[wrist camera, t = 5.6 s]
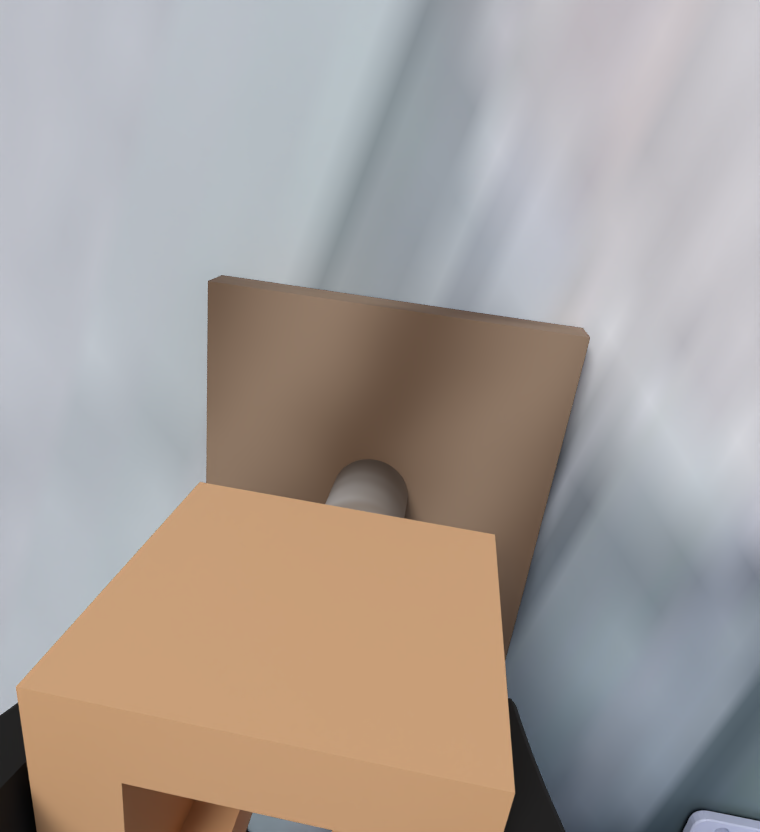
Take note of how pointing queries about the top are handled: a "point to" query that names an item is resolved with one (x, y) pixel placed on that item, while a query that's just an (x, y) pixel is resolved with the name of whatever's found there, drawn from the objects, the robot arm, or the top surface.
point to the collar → (279, 678)
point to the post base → (391, 410)
